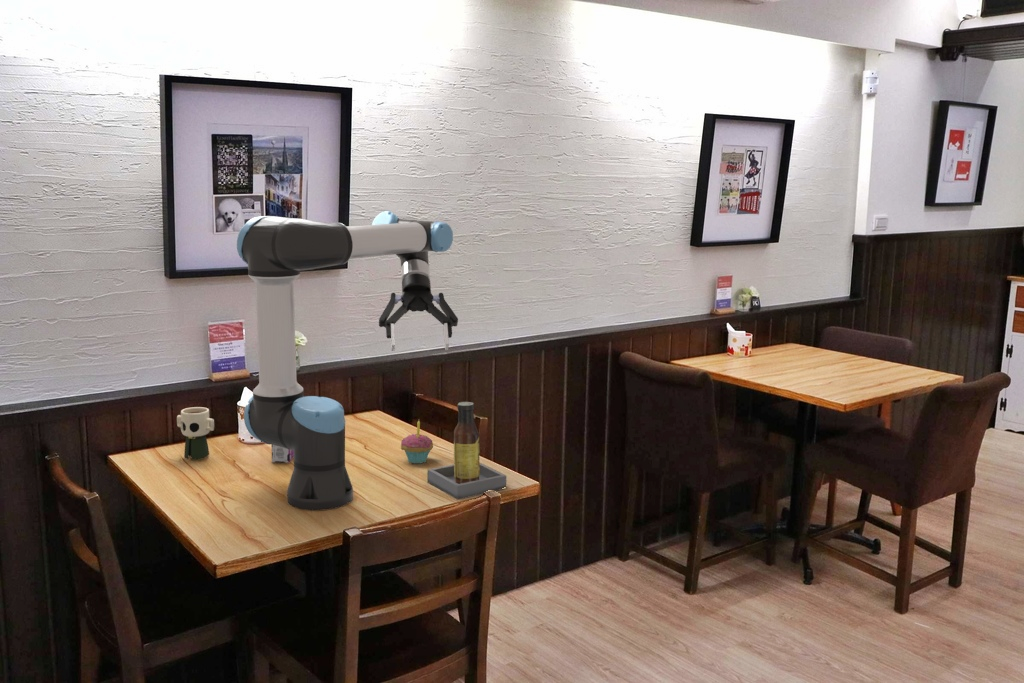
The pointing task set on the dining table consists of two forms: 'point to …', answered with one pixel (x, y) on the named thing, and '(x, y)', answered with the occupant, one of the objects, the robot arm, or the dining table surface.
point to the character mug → (195, 431)
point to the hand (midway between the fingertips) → (420, 347)
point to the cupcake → (417, 446)
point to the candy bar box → (281, 454)
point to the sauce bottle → (466, 445)
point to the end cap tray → (446, 482)
